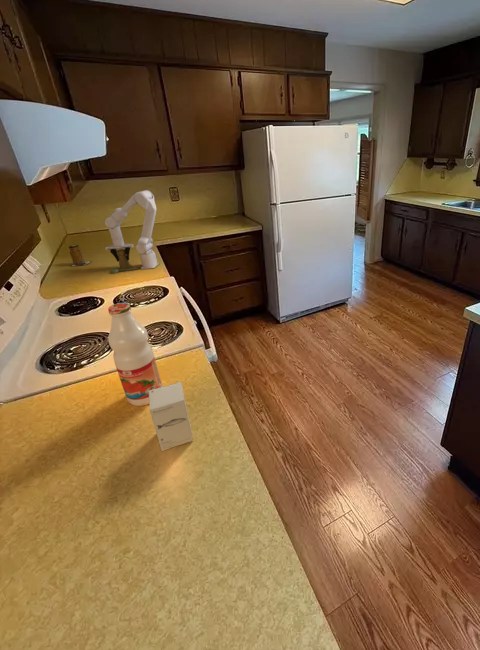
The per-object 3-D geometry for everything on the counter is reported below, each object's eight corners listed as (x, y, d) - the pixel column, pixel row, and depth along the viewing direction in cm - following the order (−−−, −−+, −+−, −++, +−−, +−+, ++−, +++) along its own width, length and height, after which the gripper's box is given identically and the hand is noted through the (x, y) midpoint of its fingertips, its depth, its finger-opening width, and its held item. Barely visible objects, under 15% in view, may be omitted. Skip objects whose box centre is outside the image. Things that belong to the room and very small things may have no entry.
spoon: (138, 268, 197) (138, 266, 196) (137, 270, 193) (137, 268, 192) (111, 271, 193) (110, 269, 192) (109, 273, 189) (109, 271, 189)
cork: (132, 265, 201) (128, 248, 197) (127, 269, 196) (122, 251, 191) (123, 265, 202) (118, 248, 197) (117, 269, 197) (112, 251, 192)
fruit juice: (169, 385, 96) (147, 298, 84) (152, 408, 88) (124, 315, 76) (140, 383, 98) (114, 297, 86) (120, 405, 89) (87, 314, 77)
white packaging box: (161, 452, 75) (148, 410, 69) (159, 430, 81) (147, 389, 75) (194, 441, 77) (184, 400, 72) (190, 420, 83) (181, 380, 78)
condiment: (76, 262, 211) (70, 244, 206) (90, 261, 212) (84, 243, 207) (71, 266, 205) (64, 247, 200) (85, 265, 206) (79, 246, 201)
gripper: (101, 241, 186) (108, 263, 192) (129, 238, 190) (135, 260, 195) (104, 238, 192) (111, 260, 198) (131, 235, 196) (137, 257, 202)
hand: (123, 260), depth 197 cm, fingers closed on cork, 5 cm apart
